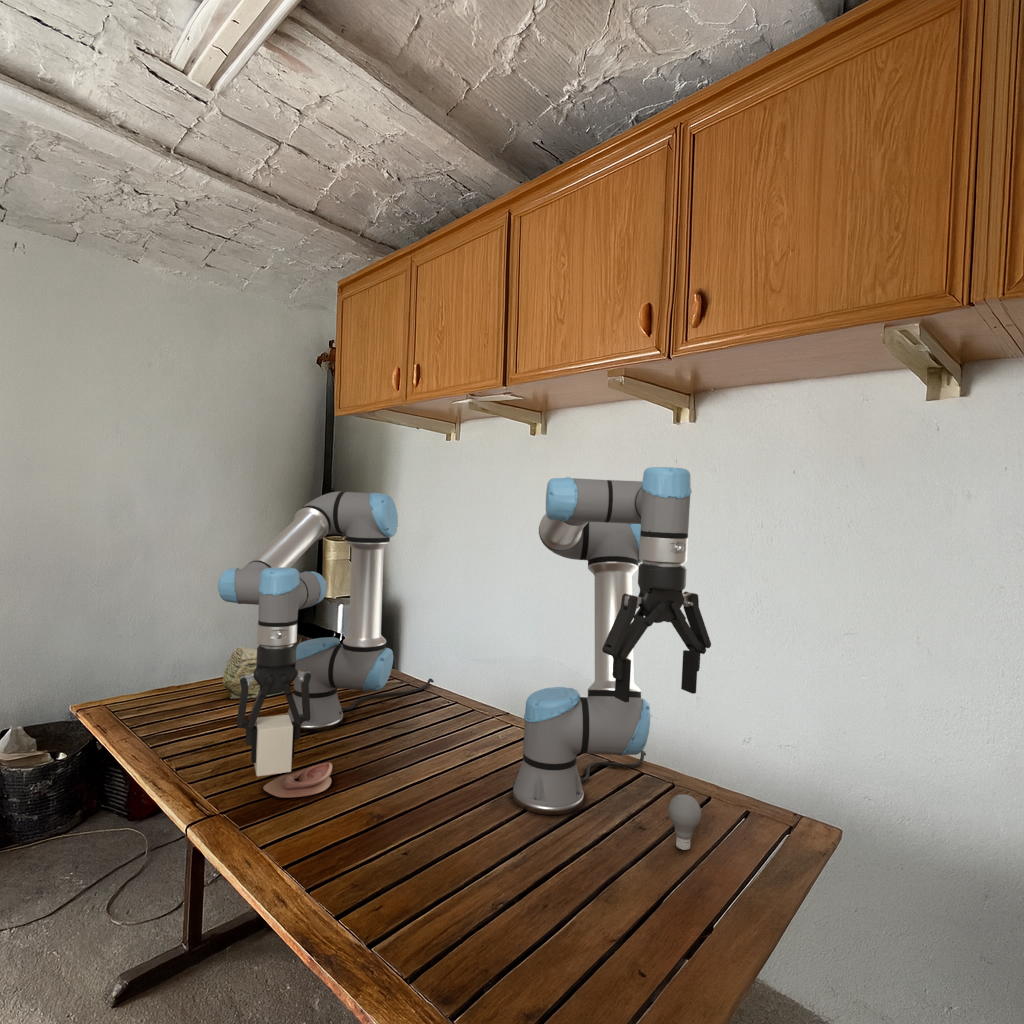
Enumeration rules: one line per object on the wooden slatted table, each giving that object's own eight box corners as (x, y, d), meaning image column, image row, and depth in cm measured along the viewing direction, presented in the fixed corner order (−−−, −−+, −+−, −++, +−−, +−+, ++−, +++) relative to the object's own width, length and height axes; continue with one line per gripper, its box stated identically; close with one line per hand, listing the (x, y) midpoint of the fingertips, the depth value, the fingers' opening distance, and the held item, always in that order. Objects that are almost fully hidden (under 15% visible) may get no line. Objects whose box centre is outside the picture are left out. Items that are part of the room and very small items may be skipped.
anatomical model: (255, 775, 133) (285, 754, 145) (254, 793, 133) (285, 771, 145) (313, 783, 131) (339, 761, 142) (312, 802, 131) (338, 779, 142)
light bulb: (662, 839, 122) (664, 788, 122) (692, 839, 123) (695, 788, 122) (672, 857, 116) (675, 803, 116) (704, 857, 117) (707, 803, 116)
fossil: (218, 695, 195) (220, 647, 195) (278, 685, 208) (279, 640, 207) (228, 703, 189) (230, 653, 188) (289, 692, 201) (290, 645, 201)
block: (253, 761, 130) (255, 717, 130) (286, 757, 133) (288, 714, 133) (256, 776, 123) (258, 730, 123) (291, 772, 126) (293, 726, 126)
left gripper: (224, 652, 120) (220, 772, 121) (329, 646, 129) (325, 758, 129) (223, 643, 127) (219, 757, 127) (323, 638, 136) (319, 745, 136)
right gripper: (612, 567, 93) (605, 711, 93) (737, 565, 104) (730, 694, 104) (584, 561, 99) (578, 696, 100) (704, 561, 110) (698, 681, 111)
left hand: (272, 757), depth 128 cm, fingers closed on block, 6 cm apart
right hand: (656, 695), depth 102 cm, fingers open, 13 cm apart
